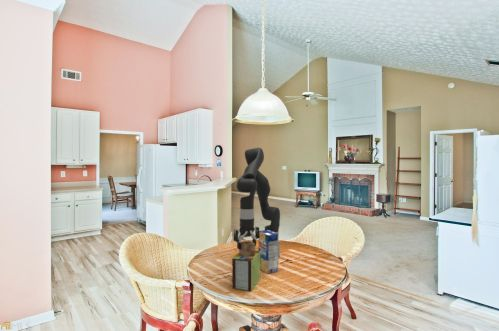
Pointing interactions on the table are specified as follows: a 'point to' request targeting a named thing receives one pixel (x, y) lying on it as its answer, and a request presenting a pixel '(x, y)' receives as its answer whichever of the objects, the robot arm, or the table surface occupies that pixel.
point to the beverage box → (268, 251)
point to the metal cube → (247, 248)
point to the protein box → (245, 271)
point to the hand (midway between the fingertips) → (246, 248)
